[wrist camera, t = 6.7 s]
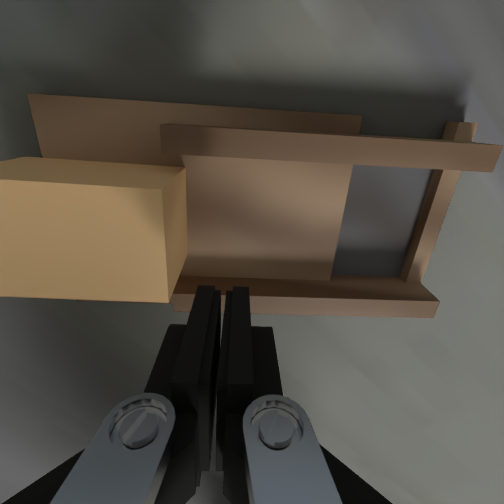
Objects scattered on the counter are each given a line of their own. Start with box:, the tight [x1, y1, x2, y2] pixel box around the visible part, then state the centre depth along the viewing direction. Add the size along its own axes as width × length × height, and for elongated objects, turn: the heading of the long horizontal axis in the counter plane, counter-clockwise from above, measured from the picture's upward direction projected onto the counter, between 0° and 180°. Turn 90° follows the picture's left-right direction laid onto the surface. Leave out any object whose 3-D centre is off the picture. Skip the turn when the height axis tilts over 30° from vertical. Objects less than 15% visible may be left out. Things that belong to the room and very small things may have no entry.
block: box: [0, 157, 188, 303], centre depth 14 cm, size 5×8×5 cm, turn 86°
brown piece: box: [27, 93, 503, 318], centre depth 16 cm, size 12×22×3 cm, turn 87°
